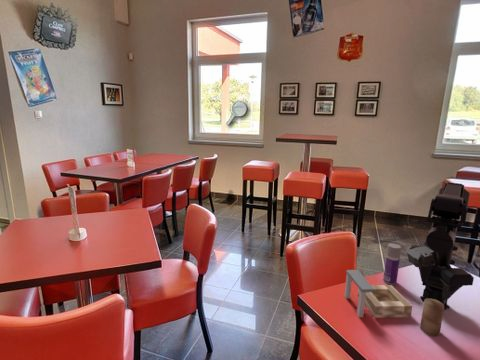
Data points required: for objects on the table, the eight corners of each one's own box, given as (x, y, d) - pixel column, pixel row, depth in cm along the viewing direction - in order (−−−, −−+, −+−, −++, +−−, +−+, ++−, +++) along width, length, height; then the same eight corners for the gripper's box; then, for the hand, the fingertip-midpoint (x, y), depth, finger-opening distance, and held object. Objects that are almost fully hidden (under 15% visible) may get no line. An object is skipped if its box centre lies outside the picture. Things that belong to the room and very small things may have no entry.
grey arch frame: (354, 295, 104) (357, 269, 102) (371, 317, 92) (374, 289, 90) (343, 295, 104) (346, 270, 102) (358, 317, 92) (362, 289, 90)
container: (398, 285, 111) (403, 248, 108) (384, 284, 112) (389, 247, 109) (394, 279, 116) (399, 243, 113) (381, 277, 116) (386, 242, 114)
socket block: (390, 295, 105) (391, 285, 104) (410, 317, 93) (412, 305, 92) (357, 295, 104) (358, 285, 103) (374, 317, 92) (375, 306, 92)
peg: (431, 324, 90) (436, 298, 88) (443, 336, 85) (448, 308, 83) (416, 324, 90) (420, 298, 88) (427, 336, 85) (431, 308, 83)
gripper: (395, 228, 91) (389, 273, 94) (436, 255, 73) (427, 310, 76) (430, 228, 91) (423, 273, 94) (480, 255, 73) (469, 310, 76)
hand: (433, 290), depth 85 cm, fingers open, 9 cm apart
